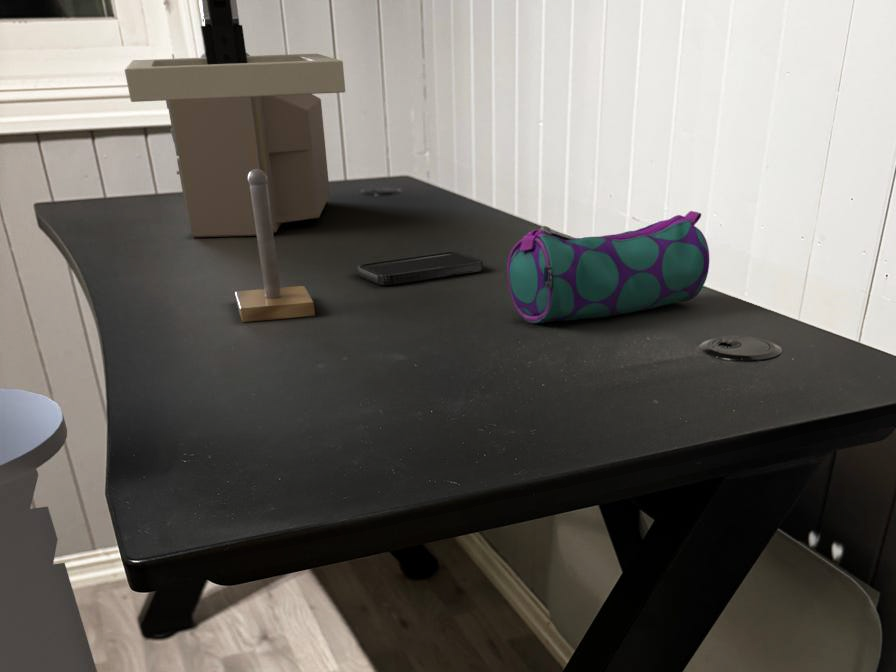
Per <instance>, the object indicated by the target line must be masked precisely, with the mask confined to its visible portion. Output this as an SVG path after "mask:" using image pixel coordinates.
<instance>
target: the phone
mask: <svg viewBox="0 0 896 672" xmlns="http://www.w3.org/2000/svg"><path fill="white" fill-rule="evenodd" d="M483 269H484V268H483V260H482V259H480V258H477V257H475V256H471V255H468V254H465V253H462V252H459V251H447V252H439V253H433V254H427V255H418V256H411V257H404V258H399V259H397V258H396V259H391V260H390V259H389V260H383V261H376V262H369V263H363V264H359V265H357V275H358V277H360V278H362V279H365V280H367V281H370V282H371V283H374V284H376V285H377V286H378V285H379V286H392V285H393V286H394V285H399V284H404V283H405V284H406V283H413V282H419V281H425V280H431V279H432V280H433V279H438V278H444V277H445V278H446V277H452V276H458V275H464V274H465V275H466V274H470V273H478V272H482V271H483Z"/></svg>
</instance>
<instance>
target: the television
mask: <svg viewBox="0 0 896 672" xmlns="http://www.w3.org/2000/svg"><path fill="white" fill-rule="evenodd" d="M246 56H251V55H250V54H249V53H247V52H246ZM199 58H206V56H205V52H203V53H202V54H201V55H200V57H199ZM165 104H166V109H167V110H168V115H169V120H170V126H171V128H170V130H169V131H170V134H171V138H172V142H173V144H174V149H175V155H176V156H177V158H176V162H177V168H178V170H176V175H179V179H180V184H181V190H182V197H183V202H184V208H185V213H186V220H187V226H188V227H190V229H191V234H192V238H217V237H219V238H221V237H222V238H223V237H226V238H227V237H257V233H256V226H255V219H254V211H253V204H252V197H251V190H250V184H249V182H248V176H249V173H250V172H251V171H252V170H254V169H259V170H262V171H263V172H264V173H265V174H266V176H267V188H268V196H269V204H270V211H271V219H272V227H273V233H276V232H277V231H278V229H279V228H280V227H281V225H282V224H285V223H293V222H298V221H299V222H300V221H306V220H312V219H313V220H314V219H319V218H320V217H321V214H322V213H323V210H324V208H325V206H326V204H327V202H328V200H329V198H330V195H331V192H330V184H329V183H330V181H329V172H328V171H329V170H328V160H327V149H326V140H325V129H324V128H325V127H324V117H323V107H322V99H321V98H320V97H318V96H316V95H315V94H299V95H276V96H254V97H231V98H209V99H186V100H165Z"/></svg>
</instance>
